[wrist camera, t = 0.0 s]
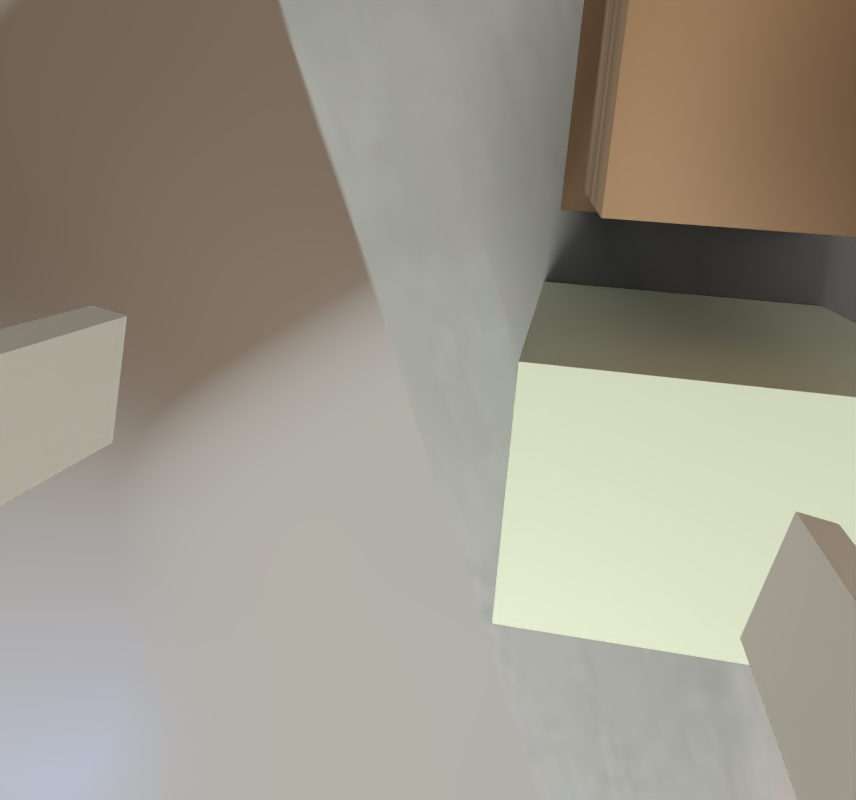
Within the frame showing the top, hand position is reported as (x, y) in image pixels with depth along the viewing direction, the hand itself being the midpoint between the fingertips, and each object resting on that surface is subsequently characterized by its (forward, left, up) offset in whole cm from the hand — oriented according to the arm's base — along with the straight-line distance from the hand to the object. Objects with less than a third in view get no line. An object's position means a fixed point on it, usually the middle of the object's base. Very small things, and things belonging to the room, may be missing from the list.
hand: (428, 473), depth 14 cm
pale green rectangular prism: (+3, +9, -28) cm, 29 cm away
